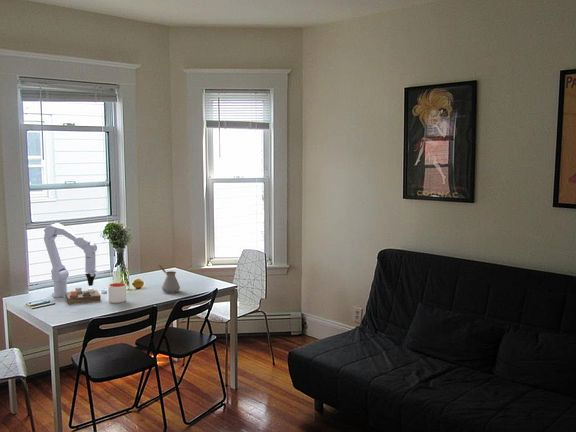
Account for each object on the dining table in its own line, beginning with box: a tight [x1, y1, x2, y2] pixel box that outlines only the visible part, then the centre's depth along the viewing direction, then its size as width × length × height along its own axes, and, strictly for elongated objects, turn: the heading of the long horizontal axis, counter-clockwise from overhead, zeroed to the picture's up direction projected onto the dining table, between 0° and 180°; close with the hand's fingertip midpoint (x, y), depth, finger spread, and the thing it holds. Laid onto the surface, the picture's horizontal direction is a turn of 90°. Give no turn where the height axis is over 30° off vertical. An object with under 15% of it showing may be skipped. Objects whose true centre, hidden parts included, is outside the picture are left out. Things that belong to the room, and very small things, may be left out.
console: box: [64, 289, 102, 305], centre depth 331 cm, size 14×18×4 cm
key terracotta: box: [70, 290, 77, 298], centre depth 325 cm, size 3×3×4 cm
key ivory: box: [87, 287, 95, 293], centre depth 336 cm, size 3×3×4 cm
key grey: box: [74, 286, 83, 294], centre depth 333 cm, size 3×3×4 cm
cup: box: [108, 282, 127, 304], centre depth 330 cm, size 10×10×10 cm
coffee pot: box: [157, 264, 181, 294], centre depth 358 cm, size 21×12×15 cm, turn 42°
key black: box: [83, 290, 90, 297], centre depth 329 cm, size 3×3×4 cm
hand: (90, 285), depth 336 cm, fingers closed
